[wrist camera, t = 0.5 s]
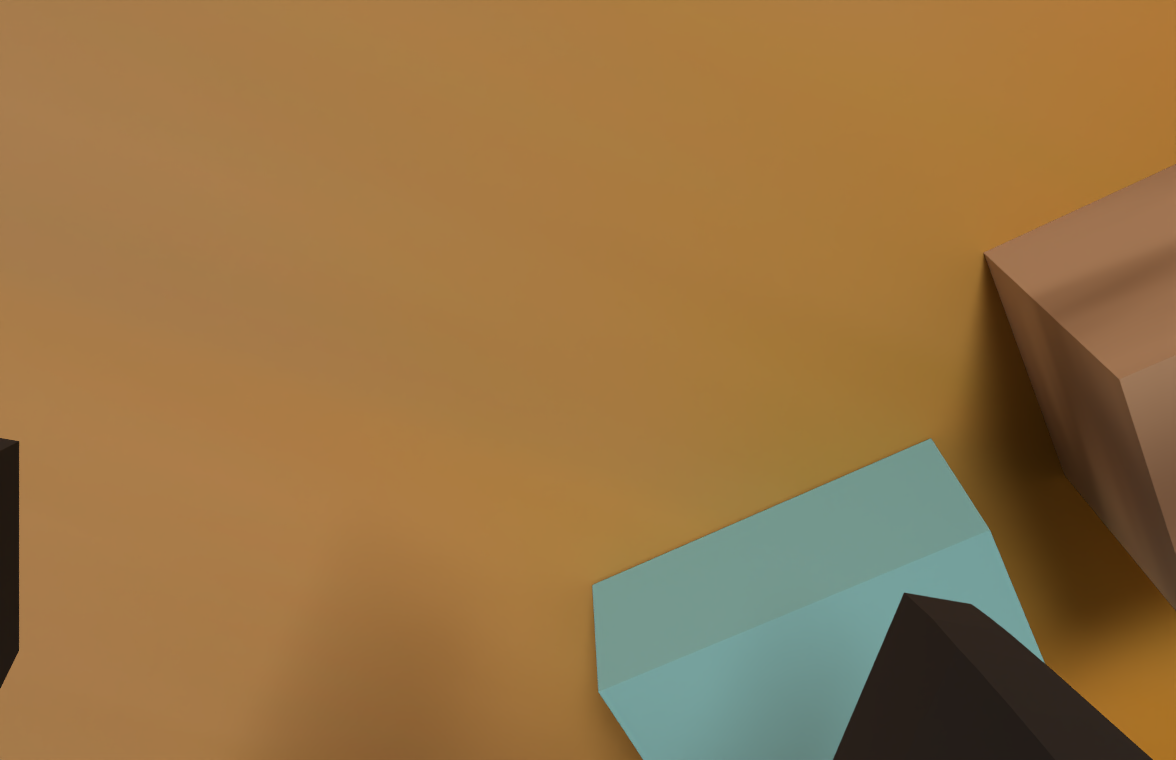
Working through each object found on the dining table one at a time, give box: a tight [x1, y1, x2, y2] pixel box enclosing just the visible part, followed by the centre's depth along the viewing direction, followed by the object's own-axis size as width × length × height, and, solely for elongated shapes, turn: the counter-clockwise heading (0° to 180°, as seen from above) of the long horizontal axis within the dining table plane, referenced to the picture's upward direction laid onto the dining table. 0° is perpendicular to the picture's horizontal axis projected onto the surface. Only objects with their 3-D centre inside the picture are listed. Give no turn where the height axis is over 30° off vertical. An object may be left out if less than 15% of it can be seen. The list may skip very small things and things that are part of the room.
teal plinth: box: [592, 439, 1044, 760], centre depth 21 cm, size 7×7×3 cm
